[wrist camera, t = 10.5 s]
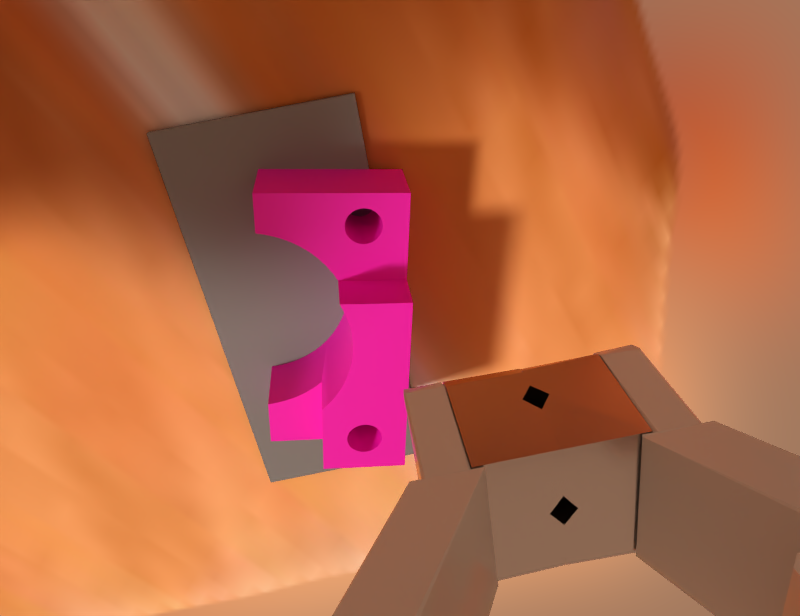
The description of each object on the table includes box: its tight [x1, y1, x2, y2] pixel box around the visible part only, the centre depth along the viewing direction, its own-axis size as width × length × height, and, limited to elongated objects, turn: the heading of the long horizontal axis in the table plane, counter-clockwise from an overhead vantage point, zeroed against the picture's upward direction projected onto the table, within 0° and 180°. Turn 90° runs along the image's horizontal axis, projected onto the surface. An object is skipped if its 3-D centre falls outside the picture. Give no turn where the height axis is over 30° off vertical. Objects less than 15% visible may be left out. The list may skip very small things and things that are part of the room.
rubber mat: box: [147, 93, 414, 482], centre depth 39 cm, size 10×24×1 cm, turn 9°
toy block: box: [252, 169, 413, 469], centre depth 36 cm, size 15×6×8 cm
